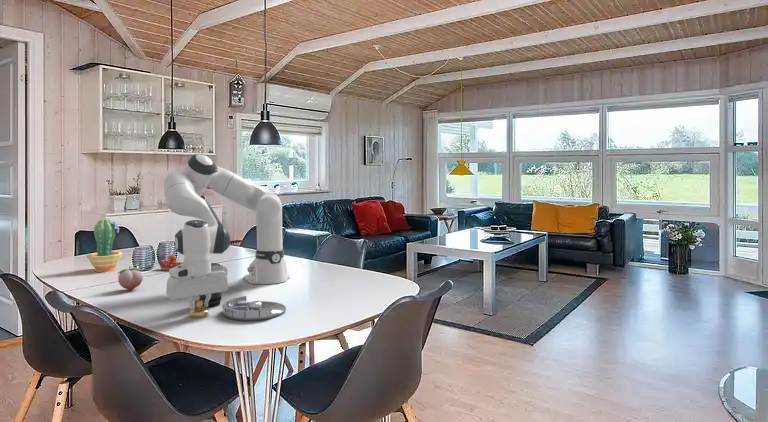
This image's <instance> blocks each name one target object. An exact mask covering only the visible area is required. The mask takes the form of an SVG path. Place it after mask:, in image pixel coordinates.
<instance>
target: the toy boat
mask: <svg viewBox="0 0 768 422" xmlns="http://www.w3.org/2000/svg"><path fill="white" fill-rule="evenodd" d="M175 260H176V256H175V254H170V255H169V256H168V260H165V259H162V260H160V262H159V265H160V269H161V270H163V271H168V272H169V270H170V269H171V268H173V267H176V266H178V265H180V264H183V263H184V261H183V262H182V261H181V262H179V261H178V262H177V261H175Z"/></svg>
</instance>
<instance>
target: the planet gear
mask: <svg viewBox="0 0 768 422" xmlns="http://www.w3.org/2000/svg"><path fill="white" fill-rule="evenodd" d="M193 303H194V304H195V309H192V310H191V309H189V318H191V319H202V318H206V317H208V316H209V309H208V308H207V307H204V306H203V299H200V298H196V299H193Z"/></svg>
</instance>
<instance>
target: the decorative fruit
mask: <svg viewBox="0 0 768 422" xmlns="http://www.w3.org/2000/svg"><path fill="white" fill-rule="evenodd" d="M128 267H129V269H128V268H125V269H121V270H120V271H118V272H117V275H118V276H117V277H118V278H117V279H118V284H119V286H120V287H122V288H124V289H125V290H129V291H133V290H134V289H137V287H139V286H140V285H141V284H142V282H143V279H144V275H143V273H142V271H143V269H141V268H139V267H132V268H131V266H128Z"/></svg>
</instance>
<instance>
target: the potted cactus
mask: <svg viewBox="0 0 768 422" xmlns="http://www.w3.org/2000/svg"><path fill="white" fill-rule="evenodd" d="M119 232H120V227H119V226H118V223H116V221H113V220H111V219H108V218H105V219H103V218H101V219H99V220H98V221H97V222H96V224H94V227H93V235H94V238H95V239H94V240H95V242H96V252H93V253H88V254H87V255H86V258H87V259H88V260H89V262H90V264H91V265H92V267H94V272H98V273H106V272H112V271H116V268H117V265H118V264H119V262H120V259H121V257H122V256H123V252H122V251H115V250H113V245H114V244H113V243H114V241H115V237H116V234H119Z"/></svg>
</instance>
